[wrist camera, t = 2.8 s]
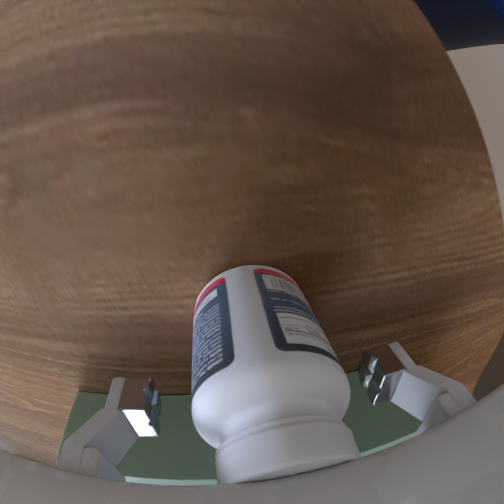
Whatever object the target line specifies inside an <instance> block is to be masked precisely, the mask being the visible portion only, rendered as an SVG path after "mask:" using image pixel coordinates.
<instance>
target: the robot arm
mask: <svg viewBox="0 0 504 504" xmlns="http://www.w3.org/2000/svg"><path fill="white" fill-rule="evenodd" d="M362 359H363V362H362V363H361V364H360V365H359V369H358V376H359V380H360V383H361V385H362V386H363V387H365V388H367V389H368V390H367V396H368V397H369V399H370V401H371V403H372V405H376V404H379V403H383V402H386V401H389V400H391V402H393V403H394V404H396V405H397V406H399V407H401V408H402V409H404V410H405V411H407V412H408V413H410V414H411V415H413V416H414V417H416V418H418V419H419V420H421V421H422V423H421V424H420V426H419V427H418V429H417V431H416V433H417V435H416V436H414V437H412V438H410V439H408V440H405V441H403V442H401V443H398V444H396V445H394V446H391V447H389V448H386V449H383V450H381V451H378V452H375V453H373V454H370V455H367V456H364V457H361V458H358V459H355V460H352V461H349V462H345V463H342V464H339V465H335V466H331V467H328V468H324V469H320V470H316V471H312V472H307V473H303V474H298V475H293V476H288V477H282V478H276V479H270V480H263V481H255V482H247V483H236V484H223V485H199V486H179V485H155V484H143V483H133V482H126V478H125V477H124V476H123V475H122V474H121V473H120V472H119V471H118V470H117V469H116V468H115V467H116V466H117V465H118V463H119V462H120V461H121V460H122V458H123V457H124V456H125V454H126V453H127V452H128V451H129V449H130V448H131V447H132V445H133V444H134V443H135V442H136V440H137V439H138V436H139V437H159V431H160V422H159V420H158V417H159V416H160V415H161V409H162V406H161V398H160V395H159V392H158V391H157V390H155V383H154V381H153V379H152V378H130V377H127V378H126V377H115V378H114V379H113V380H112V384H111V387H110V391H109V394H108V398H107V401H106V405H105V409H100V410H99V411H98V412H97V413H96V414H95V415H94V416H92V417H91V418H90V419H89V420H88V421H87V422H86V423H85V424H83V425H82V426H81V427H80V428H79V429H78V430H77V431H76V432H74V433H73V434H72V435H71V436H70V437H69V438H68V439H66V440H65V441H64V443H63V446H62V450H61V454H60V457H59V461H58V465H57V468H55V467H52V466H48V465H45V464H42V463H39V462H36V461H33V460H30V459H27V458H24V457H21V456H19V455H16V454H13V453H11V452H8V451H6V450H4V449H1V448H0V504H504V384H503V385H501V386H500V387H498V388H497V389H496V390H494V391H493V392H491V393H490V394H489V395H487V396H486V397H484V398H483V399H481V400H480V401H478V402H477V401H476V400H475V399H474V397H473V396H472V395H471V394H470V392H469V391H468V390H467V388H466V387H465V386H464V385H463V383H460V382H458V381H456V380H453V379H451V378H449V377H446V376H444V375H441V374H439V373H437V372H434V371H432V370H430V369H428V368H425V367H423V366H421V365H418V366H417V365H416V364H415V363H414V362H413V360H412V359H411V358H410V356H409V355H408V354H407V353H406V351H405V350H404V349H403V348H402V346H401V345H400V344H399V343H398V342H394V343H390V344H386V345H383V346H379V347H375V348H372V349H368V350H365V351H364V352H363V354H362Z"/></svg>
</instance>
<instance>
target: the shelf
mask: <svg viewBox="0 0 504 504" xmlns="http://www.w3.org/2000/svg"><path fill="white" fill-rule="evenodd" d="M345 374H346V377H347V379H348V382H349V385H350V402H349V406H348V409H347V411H346V413H345V415H344V417H343V418H342V420H341V421H343V422H344V423H345V424H346V426H347V427H348V428H350V429H351V431H352V433H353V436H354V440H355V442H356V445H357V447H358V450H359V452H360V455H361V457H364V456H367V455H370V454H373V453H375V452H378V451H381V450H383V449H386V448H389V447H391V446H394V445H396V444H398V443H401V442H403V441H405V440H408V439H410V438H412V437H414V436H416V435H417V433H416V431H417V429H418V427H419V426H420V424H421V423H422V421H421V420H419V419H418V418H416V417H414V416H413V415H411V414H410V413H408V412H407V411H405V410H404V409H402V408H401V407H399V406H397V405H396V404H394V403H393V402H391V400H389V401H386V402H383V403H379V404H376V405H372V403H371V401H370V399H369V397H368V396H367V390H368V389H367V388H365V387H363V386H362V385H361V383H360V380H359V376H358V370H357V371H353V372H349V373H345ZM107 398H108V394H100V393H88V392H78V393H77V396H76V398H75V401H74V404H73V407H72V410H71V413H70V416H69V419H68V422H67V425H66V428H65V432H64V435H63V438H62V441H61V445H60V448H59V452H58V456H57V459H56V463H57V464H58V461H59V457H60V454H61V450H62V446H63V443H64V441H65V440H66V439H68V438H69V437H70V436H71V435H72V434H73V433H74V432H76V431H77V430H78V429H79V428H80V427H81V426H82V425H83V424H85V423H86V422H87V421H88V420H89V419H90V418H91V417H92V416H94V415H95V414H96V413H97V412H98V411H99V410H100V409H105V405H106V401H107ZM160 398H161V406H162V409H161V415H160V416H159V417H158V420H159V422H160V431H159V437H139V436H138V439H137V440H136V442H135V443H134V444H133V445H132V447H131V448H130V449H129V451H128V452H127V453H126V454H125V456H124V457H123V458H122V460H121V461H120V462H119V463H118V465H117V466H116V467H115V468H116V469H117V470H118V471H119V472H120V473H121V474H122V475H123V476H124V477H125V478H126V482H133V483H143V484H155V485H179V486H199V485H218V483H217V473H216V465H215V461H216V459H215V452H216V450H217V449H216V448H214V447H213V446H211V445H210V444H208V443H207V442H206V441H205V440H204V439H203V438H202V437H201V436H200V434H199V433H198V432H197V430H196V428H195V425H194V423H193V418H192V407H191V395H161V396H160Z"/></svg>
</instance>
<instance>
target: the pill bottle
mask: <svg viewBox="0 0 504 504" xmlns="http://www.w3.org/2000/svg"><path fill="white" fill-rule="evenodd" d="M349 402H350V385H349V382H348V379H347V377H346V374H345V372H344V370H343V368H342V366H341V364H340V362H339V360H338V358H337V356H336V354H335V352H334V351H333V349H332V347H331V345H330V343H329V341H328V339H327V337H326V336H325V334H324V332H323V330H322V328H321V326H320V324H319V322H318V320H317V319H316V317H315V315H314V313H313V311H312V309H311V308H310V306H309V304H308V302H307V300H306V298H305V297H304V295H303V293H302V291H301V290H300V288H299V286H298V285H297V284H296V282H295V281H294V280H293V279H292V278H291V277H289V276H288V275H287V274H285V273H284V272H282V271H280V270H278V269H275V268H272V267H269V266H263V265H245V266H240V267H236V268H233V269H230V270H227V271H225V272H223V273H221V274H219V275H218V276H216V277H215V278H213V279H212V280H211V281H210V282H209V283H208V284H207V285H206V286H205V287H204V288H203V290H202V291H201V293H200V295H199V297H198V299H197V302H196V305H195V310H194V319H193V346H192V383H191V407H192V418H193V423H194V425H195V428H196V430H197V432H198V433H199V434H200V436H201V437H202V438H203V439H204V440H205V441H206V442H207V443H208V444H210V445H211V446H213V447H214V448H216V449H217V450H216V452H215V459H216V461H215V465H216V473H217V483H218V485H223V484H236V483H247V482H255V481H263V480H270V479H276V478H282V477H288V476H293V475H298V474H303V473H307V472H312V471H316V470H320V469H324V468H328V467H331V466H335V465H339V464H342V463H345V462H349V461H352V460H355V459H358V458H361V455H360V452H359V450H358V447H357V445H356V442H355V440H354V436H353V433H352V431H351V429H350V428H348V427H347V426H346V424H345V423H344V422H343V421H341V420H342V418H343V417H344V415H345V413H346V411H347V409H348V406H349Z"/></svg>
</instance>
